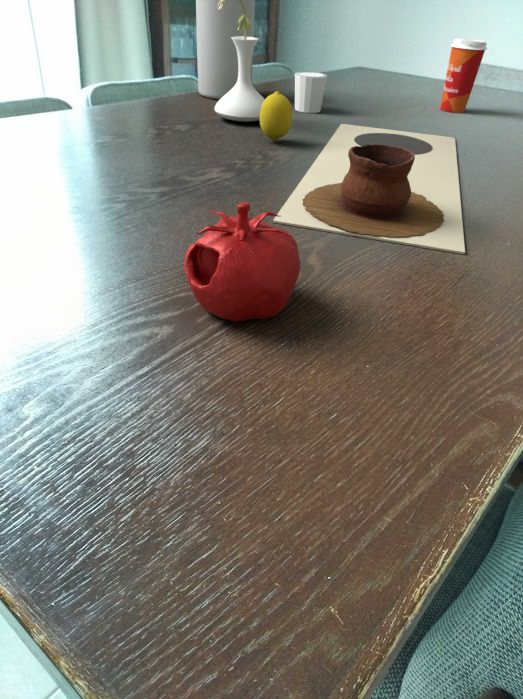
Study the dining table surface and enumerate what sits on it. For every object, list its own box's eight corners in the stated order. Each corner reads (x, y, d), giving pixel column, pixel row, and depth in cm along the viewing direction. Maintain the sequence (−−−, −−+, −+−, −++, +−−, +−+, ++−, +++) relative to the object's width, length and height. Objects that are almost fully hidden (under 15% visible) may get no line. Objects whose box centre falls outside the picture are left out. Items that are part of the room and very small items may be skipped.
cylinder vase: (233, 103, 109) (235, -40, 94) (187, 95, 114) (182, -43, 99) (261, 95, 118) (267, -37, 103) (217, 87, 123) (217, -40, 107)
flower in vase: (227, 110, 104) (228, -41, 89) (278, 117, 101) (289, -38, 86) (201, 123, 94) (197, -44, 79) (257, 131, 91) (264, -40, 76)
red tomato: (295, 277, 48) (305, 182, 43) (297, 337, 40) (310, 230, 35) (194, 270, 48) (191, 175, 43) (177, 329, 40) (170, 221, 35)
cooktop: (454, 139, 94) (455, 137, 94) (464, 254, 54) (465, 252, 54) (341, 125, 99) (341, 123, 98) (272, 222, 59) (272, 220, 58)
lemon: (256, 144, 85) (258, 92, 80) (261, 136, 89) (263, 86, 84) (288, 147, 84) (292, 95, 79) (291, 139, 89) (295, 89, 84)
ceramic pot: (384, 252, 53) (398, 187, 49) (273, 200, 63) (277, 143, 59) (470, 215, 63) (489, 158, 59) (363, 176, 73) (372, 125, 69)
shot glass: (285, 108, 108) (288, 72, 104) (305, 105, 112) (309, 70, 108) (309, 115, 104) (313, 77, 100) (329, 111, 108) (334, 75, 104)
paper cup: (432, 105, 119) (448, 37, 111) (463, 107, 119) (482, 39, 111) (439, 112, 113) (458, 41, 104) (473, 114, 113) (494, 43, 104)
